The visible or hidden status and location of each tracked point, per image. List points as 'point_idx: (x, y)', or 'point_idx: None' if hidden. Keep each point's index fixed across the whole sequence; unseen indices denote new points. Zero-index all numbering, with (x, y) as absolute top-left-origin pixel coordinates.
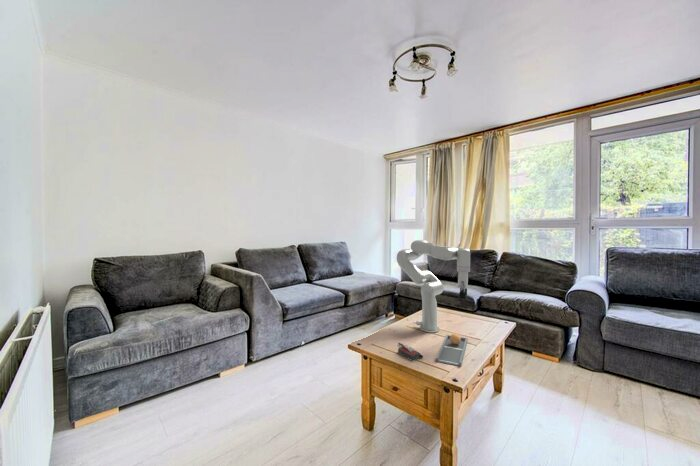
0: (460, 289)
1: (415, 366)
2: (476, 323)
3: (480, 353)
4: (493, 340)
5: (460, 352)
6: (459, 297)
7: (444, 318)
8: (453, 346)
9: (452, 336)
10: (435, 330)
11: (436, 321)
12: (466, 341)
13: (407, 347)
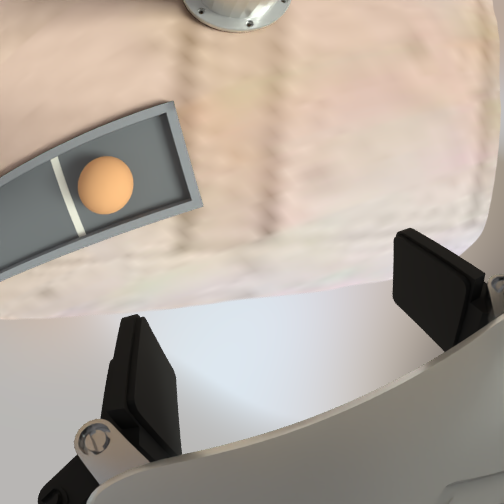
0: (39, 496)
1: None
2: (443, 161)
3: (115, 293)
4: (292, 280)
5: (53, 239)
6: (120, 325)
7: (428, 26)
8: None
9: (81, 183)
10: (216, 21)
11: (252, 2)
12: (155, 221)
13: None
